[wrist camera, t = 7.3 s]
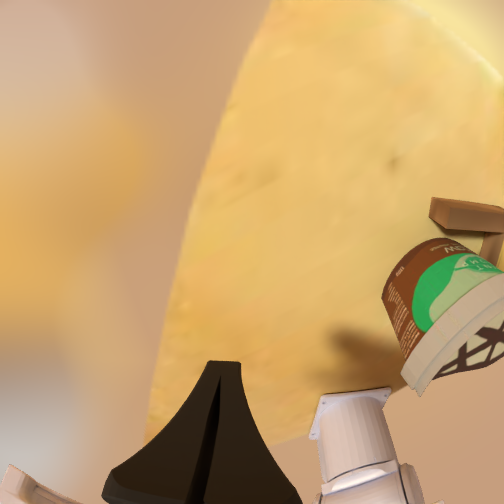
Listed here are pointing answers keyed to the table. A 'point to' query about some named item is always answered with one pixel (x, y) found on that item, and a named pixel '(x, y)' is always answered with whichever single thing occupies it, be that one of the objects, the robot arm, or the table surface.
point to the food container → (445, 311)
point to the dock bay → (474, 224)
